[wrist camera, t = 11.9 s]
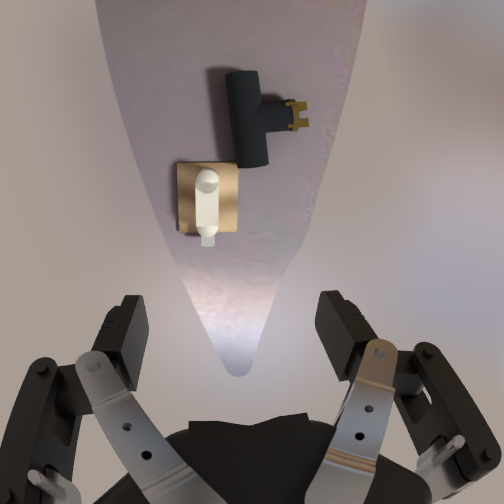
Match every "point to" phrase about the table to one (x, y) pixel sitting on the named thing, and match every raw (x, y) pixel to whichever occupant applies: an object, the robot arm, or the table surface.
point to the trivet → (226, 195)
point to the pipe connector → (257, 118)
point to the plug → (207, 205)
